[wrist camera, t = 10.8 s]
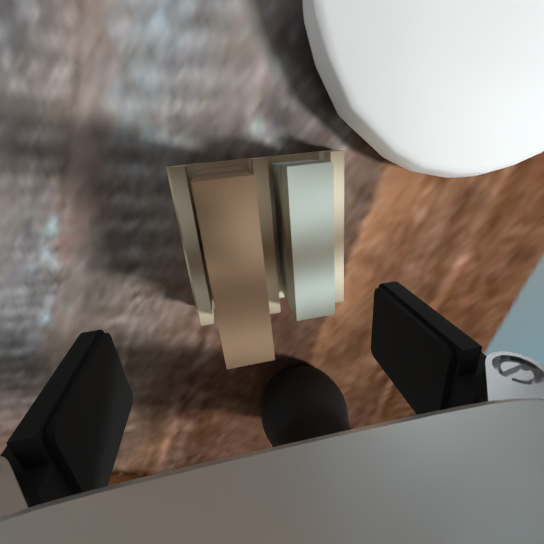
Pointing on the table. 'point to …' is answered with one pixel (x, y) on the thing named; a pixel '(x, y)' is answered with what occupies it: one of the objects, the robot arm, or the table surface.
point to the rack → (279, 230)
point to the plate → (435, 78)
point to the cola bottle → (302, 406)
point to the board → (235, 262)
